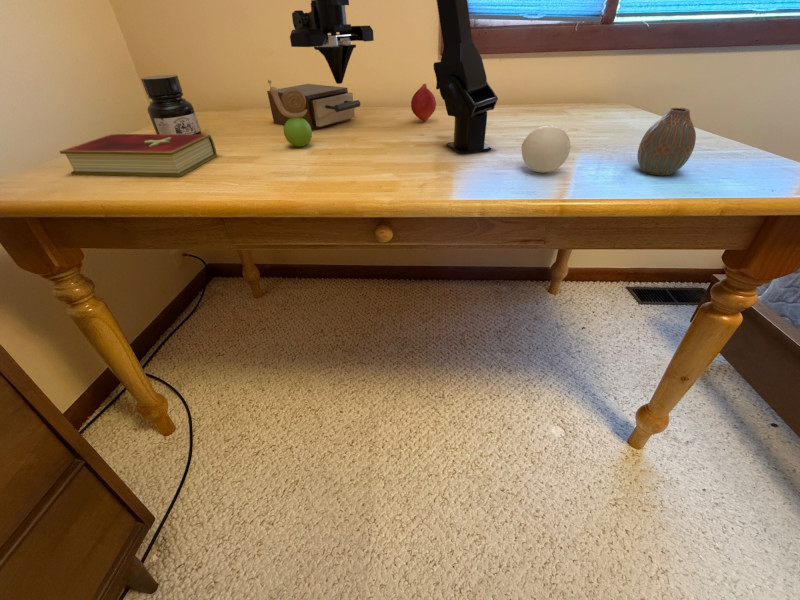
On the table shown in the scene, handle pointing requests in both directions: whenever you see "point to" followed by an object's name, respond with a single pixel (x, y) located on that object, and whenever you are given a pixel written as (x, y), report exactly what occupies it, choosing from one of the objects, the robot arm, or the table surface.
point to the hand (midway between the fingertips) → (339, 83)
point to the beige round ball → (545, 149)
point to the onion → (423, 103)
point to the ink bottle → (169, 106)
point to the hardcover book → (141, 154)
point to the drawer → (333, 108)
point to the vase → (667, 143)
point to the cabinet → (309, 93)
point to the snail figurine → (293, 115)
